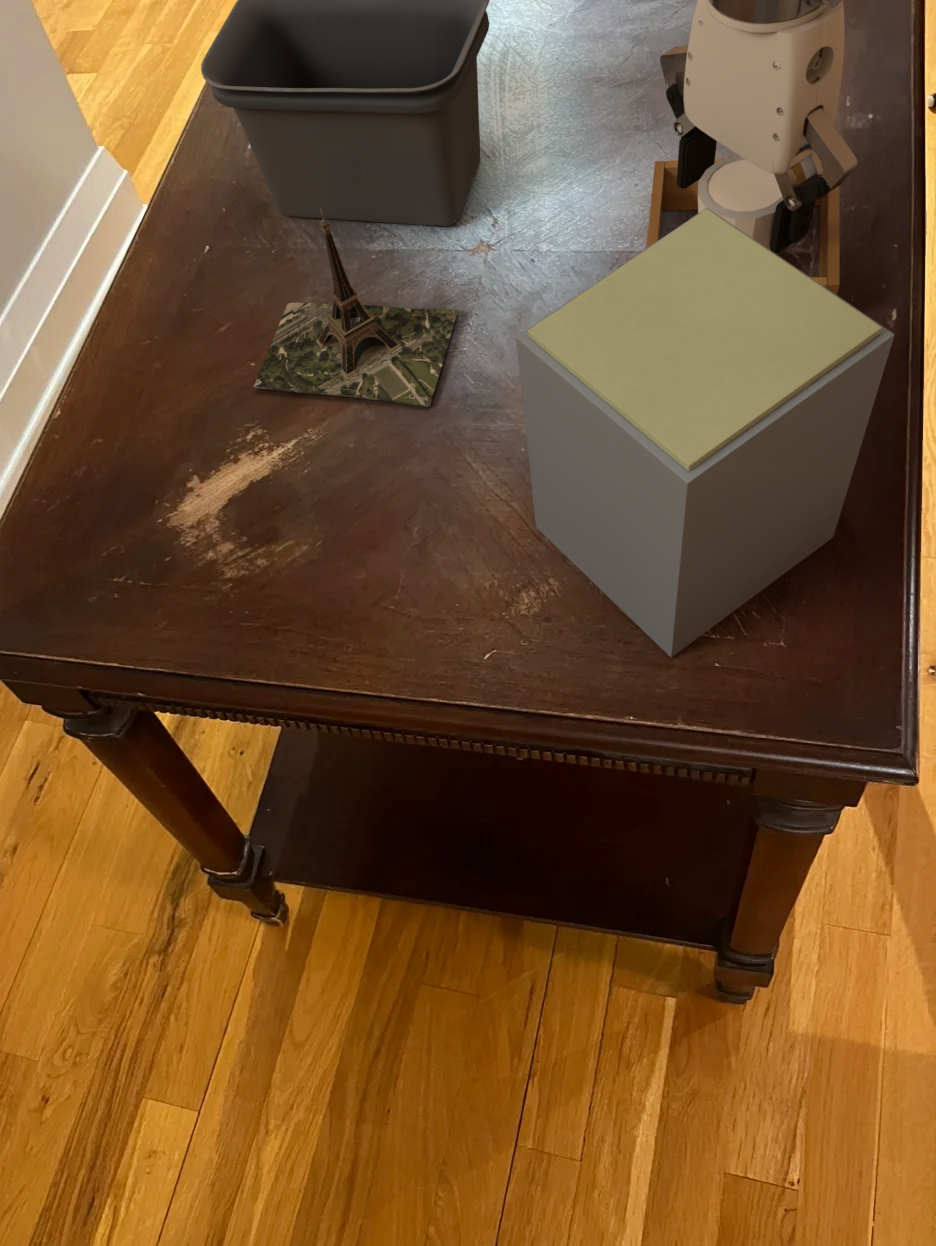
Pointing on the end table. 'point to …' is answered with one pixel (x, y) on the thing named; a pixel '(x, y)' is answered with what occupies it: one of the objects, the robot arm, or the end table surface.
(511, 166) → the end table surface
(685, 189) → the wooden frame
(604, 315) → the mat
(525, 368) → the block
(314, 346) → the eiffel tower figurine
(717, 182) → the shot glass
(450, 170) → the storage bin
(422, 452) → the end table surface
